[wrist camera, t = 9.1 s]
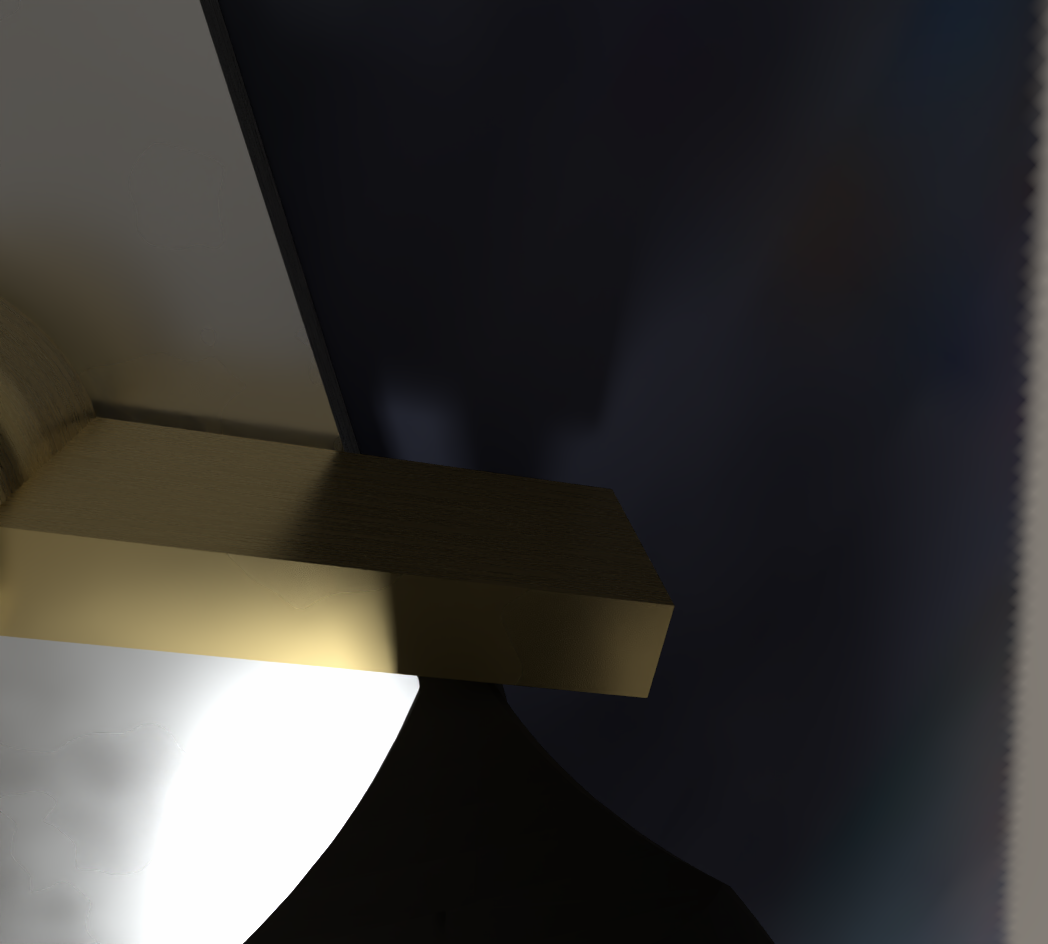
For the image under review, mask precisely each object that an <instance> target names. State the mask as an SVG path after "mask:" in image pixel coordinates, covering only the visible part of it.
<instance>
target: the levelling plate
mask: <svg viewBox="0 0 1048 944" xmlns="http://www.w3.org/2000/svg"><path fill="white" fill-rule="evenodd" d="M0 297H1V298H3V299H4V300H6V301H8V302H9V303H11V304H12V305H13V306H15V307H16V308H17V309H18V310H20V311H21V312H22V313H24V314H25V315H26V316H28V317H29V318H30V319H31V320H32V321H33V322H34V323H36V324H37V325H38V326H39V327H40V328H41V329H42V330H43V331H44V332H45V333H46V334H47V335H48V336H49V337H50V338H51V339H52V340H53V342H54V343H55V344H56V345H57V346H58V347H59V349H60V350H61V351H62V352H63V353H64V355H65V356H66V357H67V359H68V360H69V362H70V363H71V365H72V366H73V368H74V369H75V371H76V372H77V374H78V375H79V377H80V379H81V381H82V383H83V385H84V387H85V389H86V391H87V393H88V395H89V397H90V400H91V403H92V406H93V408H94V411H95V414H96V417H101V418H108V419H115V420H123V421H130V422H137V423H144V424H151V425H158V426H165V427H172V428H179V429H187V430H194V431H201V432H208V433H215V434H222V435H229V436H236V437H243V438H251V439H258V440H265V441H272V442H279V443H286V444H293V445H300V446H308V447H315V448H322V449H329V450H336V451H343V452H350V453H357V454H360V451H359V448H358V445H357V442H356V439H355V435H354V432H353V429H352V426H351V423H350V420H349V416H348V413H347V410H346V407H345V404H344V400H343V397H342V394H341V391H340V388H339V385H338V381H337V378H336V375H335V372H334V369H333V365H332V362H331V359H330V356H329V353H328V350H327V346H326V343H325V340H324V337H323V334H322V330H321V327H320V324H319V321H318V318H317V315H316V311H315V308H314V305H313V302H312V299H311V295H310V292H309V289H308V286H307V283H306V280H305V276H304V273H303V270H302V267H301V264H300V260H299V257H298V254H297V251H296V248H295V245H294V241H293V238H292V235H291V232H290V229H289V225H288V222H287V219H286V216H285V213H284V210H283V206H282V203H281V200H280V197H279V194H278V190H277V187H276V184H275V181H274V178H273V175H272V171H271V168H270V165H269V162H268V159H267V155H266V152H265V149H264V146H263V143H262V140H261V136H260V133H259V130H258V127H257V124H256V120H255V117H254V114H253V111H252V108H251V105H250V101H249V98H248V95H247V92H246V89H245V85H244V82H243V79H242V76H241V73H240V70H239V66H238V63H237V60H236V57H235V54H234V50H233V47H232V44H231V41H230V38H229V35H228V31H227V28H226V25H225V22H224V19H223V15H222V12H221V9H220V6H219V3H218V0H0ZM419 687H420V686H419V677H418V676H414V675H403V674H393V673H383V672H372V671H362V670H351V669H341V668H331V667H320V666H310V665H299V664H289V663H279V662H268V661H258V660H247V659H237V658H227V657H216V656H206V655H195V654H185V653H174V652H164V651H154V650H143V649H133V648H122V647H112V646H102V645H91V644H81V643H70V642H60V641H50V640H39V639H29V638H18V637H8V636H0V944H243V943H244V942H245V941H246V939H247V938H248V937H249V936H250V935H251V934H252V933H253V932H254V931H255V930H256V929H257V928H258V927H259V926H260V925H261V924H262V923H263V922H264V921H265V920H266V919H267V918H268V917H269V916H270V915H271V913H272V912H273V911H274V910H275V909H276V908H277V907H278V906H279V905H280V904H281V903H282V902H283V900H284V899H285V898H286V897H287V896H288V895H289V894H290V893H291V891H292V890H293V889H294V888H295V887H296V886H297V884H298V883H299V882H300V881H301V879H302V878H303V877H304V876H305V874H306V873H307V872H308V871H309V869H310V868H311V867H312V866H313V865H314V863H315V862H316V861H317V860H318V858H319V857H320V856H321V855H322V853H323V852H324V851H325V850H326V848H327V847H328V846H329V845H330V843H331V842H332V841H333V839H334V838H335V837H336V835H337V834H338V833H339V831H340V830H341V828H342V827H343V825H344V824H345V822H346V821H347V820H348V818H349V817H350V815H351V814H352V812H353V811H354V809H355V808H356V806H357V805H358V803H359V802H360V800H361V798H362V797H363V795H364V794H365V792H366V790H367V789H368V787H369V785H370V784H371V782H372V781H373V779H374V777H375V775H376V774H377V772H378V770H379V768H380V766H381V764H382V763H383V761H384V759H385V757H386V755H387V753H388V752H389V750H390V748H391V746H392V744H393V742H394V741H395V739H396V737H397V735H398V733H399V731H400V729H401V727H402V725H403V723H404V720H405V718H406V716H407V714H408V712H409V710H410V707H411V705H412V703H413V701H414V699H415V697H416V694H417V692H418V690H419Z"/></svg>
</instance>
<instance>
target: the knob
mask: <svg viewBox="0 0 1048 944" xmlns="http://www.w3.org/2000/svg"><path fill="white" fill-rule="evenodd" d="M673 609H674V604H673V602H672V600H671V599H670V597H669V595H668V593H667V591H666V589H665V587H664V585H663V584H662V582H661V580H660V578H659V576H658V574H657V572H656V570H655V569H654V567H653V565H652V563H651V561H650V559H649V557H648V556H647V554H646V552H645V550H644V548H643V546H642V544H641V542H640V541H639V539H638V537H637V535H636V533H635V531H634V529H633V527H632V526H631V524H630V522H629V520H628V518H627V516H626V514H625V513H624V511H623V509H622V507H621V505H620V503H619V501H618V499H617V498H616V496H615V494H614V492H613V490H612V489H606V488H599V487H592V486H585V485H578V484H571V483H564V482H557V481H549V480H542V479H535V478H528V477H521V476H514V475H507V474H500V473H493V472H485V471H478V470H471V469H464V468H457V467H450V466H443V465H436V464H428V463H421V462H414V461H407V460H400V459H393V458H386V457H379V456H372V455H364V454H357V453H350V452H343V451H336V450H329V449H322V448H315V447H308V446H300V445H293V444H286V443H279V442H272V441H265V440H258V439H251V438H243V437H236V436H229V435H222V434H215V433H208V432H201V431H194V430H187V429H179V428H172V427H165V426H158V425H151V424H144V423H137V422H130V421H123V420H115V419H108V418H101V417H96V414H95V411H94V408H93V406H92V403H91V400H90V397H89V395H88V393H87V391H86V389H85V387H84V385H83V383H82V381H81V379H80V377H79V375H78V374H77V372H76V371H75V369H74V368H73V366H72V365H71V363H70V362H69V360H68V359H67V357H66V356H65V355H64V353H63V352H62V351H61V350H60V349H59V347H58V346H57V345H56V344H55V343H54V342H53V340H52V339H51V338H50V337H49V336H48V335H47V334H46V333H45V332H44V331H43V330H42V329H41V328H40V327H39V326H38V325H37V324H36V323H34V322H33V321H32V320H31V319H30V318H29V317H28V316H26V315H25V314H24V313H22V312H21V311H20V310H18V309H17V308H16V307H15V306H13V305H12V304H11V303H9V302H8V301H6V300H4V299H3V298H1V297H0V636H8V637H18V638H29V639H39V640H50V641H60V642H70V643H81V644H91V645H102V646H112V647H122V648H133V649H143V650H154V651H164V652H174V653H185V654H195V655H206V656H216V657H227V658H237V659H247V660H258V661H268V662H279V663H289V664H299V665H310V666H320V667H331V668H341V669H351V670H362V671H372V672H383V673H393V674H403V675H414V676H424V677H435V678H445V679H456V680H466V681H476V682H487V683H497V684H508V685H518V686H528V687H539V688H549V689H560V690H570V691H580V692H591V693H601V694H612V695H622V696H633V697H643V698H647V697H648V694H649V690H650V687H651V684H652V680H653V677H654V673H655V670H656V667H657V663H658V660H659V656H660V653H661V650H662V646H663V643H664V639H665V636H666V633H667V629H668V626H669V623H670V619H671V616H672V612H673Z"/></svg>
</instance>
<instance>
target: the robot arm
mask: <svg viewBox="0 0 1048 944" xmlns="http://www.w3.org/2000/svg"><path fill="white" fill-rule="evenodd" d="M418 677H419V686H420V687H419V690H418V692H417V694H416V697H415V699H414V701H413V703H412V705H411V707H410V710H409V712H408V714H407V716H406V718H405V720H404V723H403V725H402V727H401V729H400V731H399V733H398V735H397V737H396V739H395V741H394V742H393V744H392V746H391V748H390V750H389V752H388V753H387V755H386V757H385V759H384V761H383V763H382V764H381V766H380V768H379V770H378V772H377V774H376V775H375V777H374V779H373V781H372V782H371V784H370V785H369V787H368V789H367V790H366V792H365V794H364V795H363V797H362V798H361V800H360V802H359V803H358V805H357V806H356V808H355V809H354V811H353V812H352V814H351V815H350V817H349V818H348V820H347V821H346V822H345V824H344V825H343V827H342V828H341V830H340V831H339V833H338V834H337V835H336V837H335V838H334V839H333V841H332V842H331V843H330V845H329V846H328V847H327V848H326V850H325V851H324V852H323V853H322V855H321V856H320V857H319V858H318V860H317V861H316V862H315V863H314V865H313V866H312V867H311V868H310V869H309V871H308V872H307V873H306V874H305V876H304V877H303V878H302V879H301V881H300V882H299V883H298V884H297V886H296V887H295V888H294V889H293V890H292V891H291V893H290V894H289V895H288V896H287V897H286V898H285V899H284V900H283V902H282V903H281V904H280V905H279V906H278V907H277V908H276V909H275V910H274V911H273V912H272V913H271V915H270V916H269V917H268V918H267V919H266V920H265V921H264V922H263V923H262V924H261V925H260V926H259V927H258V928H257V929H256V930H255V931H254V932H253V933H252V934H251V935H250V936H249V937H248V938H247V939H246V941H245V942H244V943H243V944H775V943H774V942H773V941H772V939H771V938H770V937H769V935H768V934H767V933H766V931H765V930H764V929H763V927H762V926H761V925H760V923H759V922H758V921H757V919H756V918H755V917H754V915H753V914H752V913H751V912H750V910H749V909H748V908H747V907H746V905H745V904H744V903H743V902H742V900H741V899H740V898H739V897H738V895H737V894H736V893H735V892H734V891H733V889H732V888H731V887H730V886H728V885H726V884H724V883H722V882H721V881H719V880H717V879H715V878H713V877H711V876H709V875H707V874H706V873H704V872H702V871H700V870H698V869H697V868H695V867H693V866H691V865H690V864H688V863H686V862H685V861H683V860H681V859H679V858H678V857H676V856H674V855H673V854H671V853H670V852H668V851H667V850H665V849H663V848H662V847H660V846H659V845H657V844H656V843H654V842H653V841H651V840H650V839H648V838H647V837H645V836H644V835H642V834H641V833H639V832H638V831H637V830H635V829H634V828H633V827H631V826H630V825H629V824H628V823H626V822H625V821H624V820H622V819H621V818H620V817H618V816H617V815H616V814H615V813H613V812H612V811H611V810H609V809H608V808H607V807H605V806H604V805H603V804H602V803H600V802H599V801H598V800H596V799H595V798H594V797H593V796H592V795H591V794H589V793H588V792H587V791H586V790H585V789H584V788H583V787H582V786H581V785H580V784H578V783H577V782H576V781H575V780H574V779H573V778H572V777H571V776H570V775H569V774H568V773H567V772H566V771H565V770H564V769H563V768H562V767H561V766H560V765H559V764H558V763H557V762H556V761H555V760H554V759H553V758H552V757H551V756H550V755H549V754H548V753H547V752H546V751H545V750H544V748H543V747H542V746H541V745H540V744H539V743H538V742H537V740H536V739H535V738H534V737H533V736H532V734H531V733H530V732H529V731H528V729H527V728H526V727H525V726H524V725H523V723H522V722H521V721H520V720H519V718H518V717H517V715H516V714H515V713H514V711H513V710H512V709H511V707H510V706H509V704H508V703H507V699H506V696H505V692H504V688H503V685H502V684H497V683H487V682H476V681H466V680H456V679H445V678H435V677H424V676H418Z"/></svg>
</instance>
